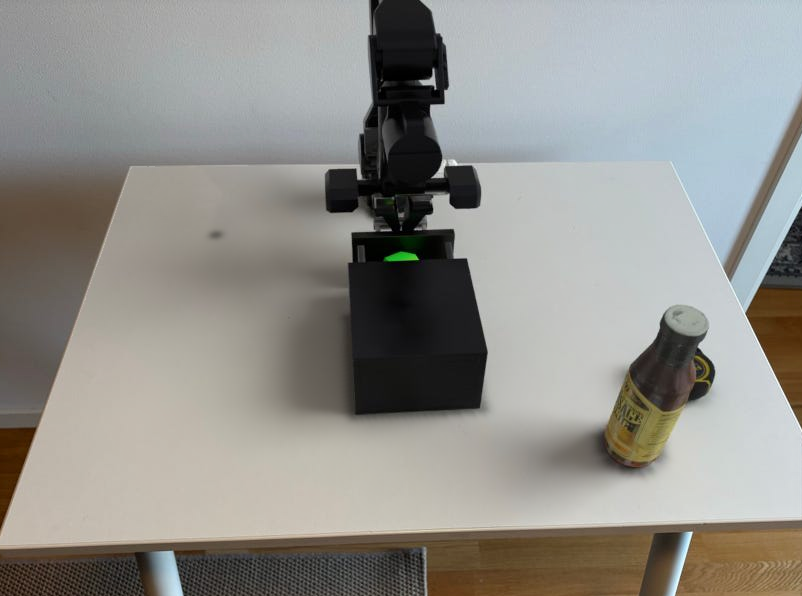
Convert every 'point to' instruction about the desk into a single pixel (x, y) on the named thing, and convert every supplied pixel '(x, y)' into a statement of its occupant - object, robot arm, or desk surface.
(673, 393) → the sauce bottle
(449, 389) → the box
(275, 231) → the desk surface
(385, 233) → the tray
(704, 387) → the tape measure
